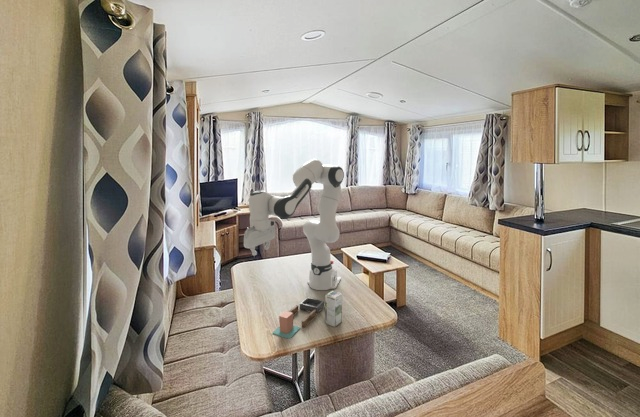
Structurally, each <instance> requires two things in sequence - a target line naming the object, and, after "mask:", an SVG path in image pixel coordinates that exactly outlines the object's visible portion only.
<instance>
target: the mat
mask: <svg viewBox="0 0 640 417" xmlns="http://www.w3.org/2000/svg"><path fill="white" fill-rule="evenodd" d="M293 327H294V328H293V329H292V330H291V331H290V332H289V333H288V334H286V333H283V332H280V326H278V327H277V328H276V329H275V330H274V331H273V332H272V333H271V334H273V335H276V336H279V337H282V338H285V339H288V340H290V339H291V338H292V337H293V336H295V335H296V334H297V333H298V331H300V330H301V328H302V326H301V327H300V326H296V325H294V324H293Z"/></svg>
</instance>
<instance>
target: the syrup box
mask: <svg viewBox="0 0 640 417" xmlns="http://www.w3.org/2000/svg"><path fill="white" fill-rule="evenodd" d="M324 296H325V298H324V308H325V309H324V310H325V311H324V312H325V313H324V315H325V316H324V317H325V318H324V321H325V323H324V324H326V325H328V326H331V327H334V328H335V327H337V326H338V325H340V324H341V323H342V322H343V293H341V292H339V291H336V290H331V291H330V292H328V293H326V294H325V295H324Z"/></svg>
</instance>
